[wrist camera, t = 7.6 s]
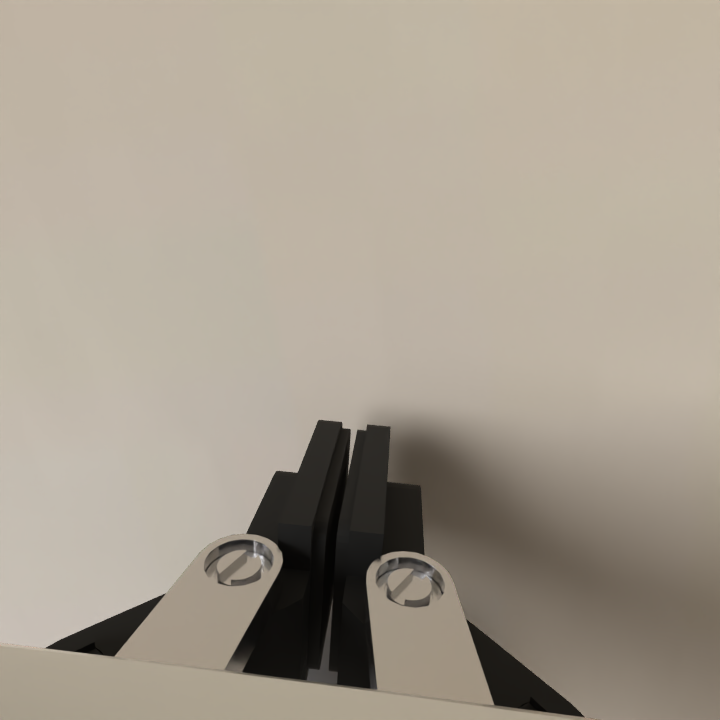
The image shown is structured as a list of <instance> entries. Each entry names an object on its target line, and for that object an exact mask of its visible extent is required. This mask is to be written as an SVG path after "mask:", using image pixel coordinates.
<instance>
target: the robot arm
mask: <svg viewBox="0 0 720 720" xmlns="http://www.w3.org/2000/svg"><path fill="white" fill-rule="evenodd" d="M350 434H351V430H350V429H343V428H342V422H335V421H324V420H319V421H318V423H317V425H316V428H315V430H314V433H313V435H312V438H311V441H310V443H309V446H308V448H307V451H306V453H305V456H304V458H303V461H302V464H301V466H300V469H299V471H298V473H293V472H283V471H276V473H275V474H274V476H273V478H272V480H271V482H270V485H269V487H268V489H267V491H266V493H265V495H264V497H263V499H262V501H261V504H260V506H259V508H258V510H257V512H256V514H255V516H254V518H253V520H252V523H251V525H250V527H249V529H248V531H247V533H246V534H237V535H230V536H227V537H224V538H220V539H218V540H216V541H214V542H213V543H211V544H209V545H208V546H207V547H205V548H204V549H203V550H202V551H201V552H200V553H199V554H198V555H197V557H196V558H195V559H194V560H193V562H192V563H191V564H190V565H189V566H188V568H187V569H186V570H185V571H184V572H183V574H182V575H181V576H180V577H179V579H178V580H177V581H176V582H175V583H174V585H173V586H172V587H171V588H170V589H169V591H168V592H167V593H166V594H163V595H161V596H159V597H157V598H154V599H152V600H150V601H147V602H145V603H143V604H141V605H138V606H136V607H134V608H132V609H129V610H127V611H125V612H122V613H120V614H118V615H116V616H113V617H111V618H109V619H106V620H104V621H102V622H100V623H97V624H95V625H93V626H91V627H88V628H86V629H84V630H81V631H79V632H77V633H75V634H72V635H70V636H68V637H65V638H63V639H61V640H59V641H57V642H55V643H54V644H52V645H50V646H48V647H46V648H37V647H29V646H21V645H13V644H4V643H0V720H600V719H593V718H585V717H584V716H583V715H582V714H581V713H580V712H579V711H578V710H577V709H576V708H575V707H574V706H573V705H572V704H571V703H570V702H568V701H567V700H566V699H565V698H563V697H562V696H561V695H560V694H559V693H557V692H556V691H555V690H554V689H552V688H551V687H550V686H549V685H547V684H546V683H545V682H544V681H542V680H541V679H540V678H539V677H537V676H536V675H535V674H534V673H532V672H531V671H530V670H529V669H528V668H526V667H525V666H524V665H523V664H521V663H520V662H519V661H518V660H516V659H515V658H514V657H513V656H511V655H510V654H509V653H508V652H506V651H505V650H504V649H503V648H501V647H500V646H499V645H498V644H497V643H495V642H494V641H493V640H492V639H490V638H489V637H488V636H487V635H485V634H484V633H483V632H482V631H480V630H479V629H478V628H477V627H475V626H474V625H473V624H472V623H470V622H469V621H468V620H467V619H466V618H465V615H464V612H463V609H462V606H461V603H460V600H459V597H458V594H457V591H456V588H455V585H454V582H453V580H452V578H451V576H450V574H449V572H448V571H447V570H446V569H445V568H444V567H443V566H442V565H441V564H440V563H439V562H437V561H435V560H433V559H432V558H430V557H428V556H425V555H424V539H423V521H422V503H421V487H420V485H410V484H401V483H391V482H387V474H388V458H389V442H390V427H387V426H377V425H367V430H366V431H364V430H358V431H357V435H356V440H355V445H354V450H353V455H352V460H351V464H350V469H349V474H348V465H349V450H350ZM332 600H333V604H332ZM331 605H332V620H331V637H330V654H329V671H332V672H338V675H337V684H329V683H321V682H313V681H307V677H308V672H309V669H316V670H319V669H320V666H321V661H322V655H323V649H324V644H325V638H326V633H327V627H328V622H329V616H330V611H331Z"/></svg>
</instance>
